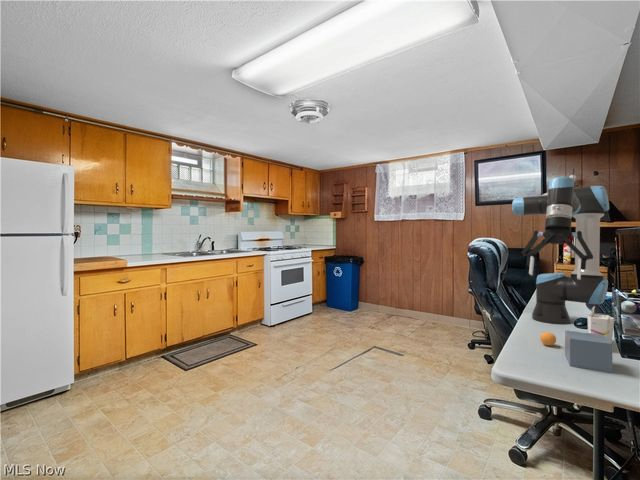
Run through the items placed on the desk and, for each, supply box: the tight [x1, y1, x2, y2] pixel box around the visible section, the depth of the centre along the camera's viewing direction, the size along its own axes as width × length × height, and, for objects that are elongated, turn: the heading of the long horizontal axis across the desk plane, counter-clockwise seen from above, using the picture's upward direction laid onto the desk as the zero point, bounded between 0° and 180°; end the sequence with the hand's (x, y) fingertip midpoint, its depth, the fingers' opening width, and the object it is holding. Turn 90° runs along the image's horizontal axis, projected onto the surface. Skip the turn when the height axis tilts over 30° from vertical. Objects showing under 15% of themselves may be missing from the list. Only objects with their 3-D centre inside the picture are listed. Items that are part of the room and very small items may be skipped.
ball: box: [539, 331, 557, 347], centre depth 121 cm, size 5×5×5 cm
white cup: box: [586, 313, 615, 344], centre depth 125 cm, size 8×8×10 cm
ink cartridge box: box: [590, 305, 611, 340], centre depth 119 cm, size 9×5×15 cm, turn 134°
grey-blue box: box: [564, 330, 613, 374], centre depth 103 cm, size 10×10×9 cm
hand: (553, 276), depth 111 cm, fingers open, 13 cm apart
